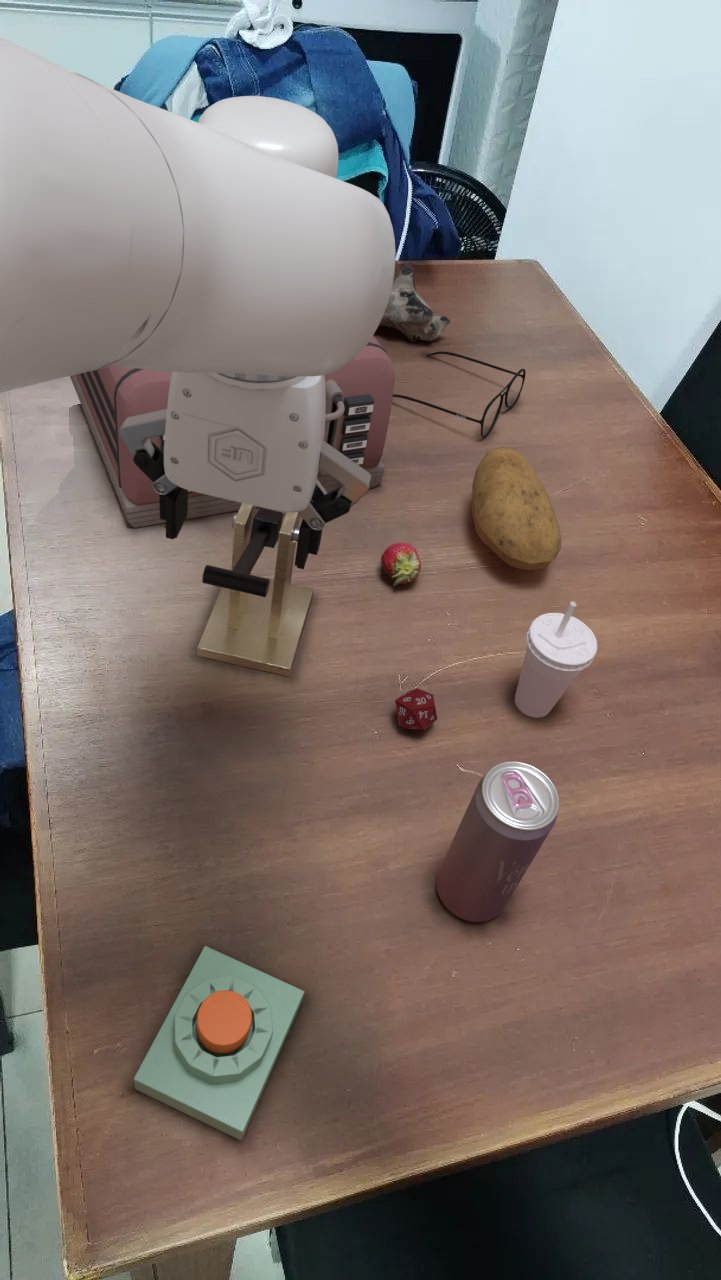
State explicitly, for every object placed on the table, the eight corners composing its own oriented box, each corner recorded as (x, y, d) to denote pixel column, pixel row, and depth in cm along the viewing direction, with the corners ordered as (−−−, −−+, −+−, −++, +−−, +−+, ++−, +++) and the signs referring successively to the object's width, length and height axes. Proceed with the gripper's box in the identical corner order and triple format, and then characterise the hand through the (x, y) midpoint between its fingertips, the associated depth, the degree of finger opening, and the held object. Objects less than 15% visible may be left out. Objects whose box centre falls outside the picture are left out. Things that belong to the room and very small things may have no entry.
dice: (400, 745, 84) (408, 719, 81) (386, 706, 86) (393, 680, 84) (438, 739, 85) (448, 713, 82) (423, 701, 88) (431, 675, 85)
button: (235, 1063, 60) (236, 1054, 59) (186, 1040, 61) (187, 1031, 59) (259, 1012, 63) (260, 1003, 61) (212, 990, 63) (212, 981, 62)
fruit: (411, 555, 101) (420, 522, 97) (421, 595, 97) (430, 561, 93) (373, 555, 100) (381, 521, 96) (382, 594, 96) (390, 560, 93)
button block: (241, 1141, 60) (244, 1125, 58) (134, 1088, 62) (132, 1070, 59) (301, 1001, 67) (307, 981, 64) (204, 957, 68) (205, 934, 65)
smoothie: (499, 673, 91) (540, 574, 81) (560, 681, 92) (609, 583, 82) (503, 725, 87) (547, 627, 77) (568, 732, 88) (620, 636, 77)
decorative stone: (338, 342, 126) (350, 267, 121) (331, 323, 134) (342, 251, 128) (449, 356, 130) (465, 283, 124) (436, 336, 137) (451, 267, 132)
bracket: (289, 676, 87) (305, 565, 76) (197, 655, 87) (200, 541, 76) (312, 597, 94) (330, 485, 84) (227, 578, 94) (234, 463, 84)
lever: (263, 605, 70) (268, 578, 69) (200, 591, 70) (204, 563, 69) (294, 540, 83) (298, 516, 82) (241, 528, 83) (244, 503, 82)
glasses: (479, 445, 117) (485, 410, 113) (377, 410, 122) (380, 376, 118) (522, 397, 126) (528, 363, 122) (426, 366, 131) (429, 333, 127)
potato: (483, 593, 99) (507, 529, 92) (450, 499, 109) (468, 435, 102) (557, 592, 101) (585, 529, 94) (517, 499, 111) (540, 436, 104)
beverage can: (488, 851, 78) (540, 751, 67) (517, 915, 74) (577, 822, 63) (424, 866, 76) (466, 766, 65) (450, 933, 72) (500, 840, 61)
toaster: (138, 559, 94) (132, 420, 82) (61, 363, 115) (47, 227, 102) (398, 512, 106) (428, 383, 93) (285, 341, 126) (298, 216, 113)
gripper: (91, 333, 53) (108, 548, 65) (384, 400, 53) (344, 603, 65) (135, 273, 58) (143, 484, 70) (402, 335, 58) (361, 534, 70)
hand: (240, 541), depth 68 cm, fingers open, 9 cm apart
